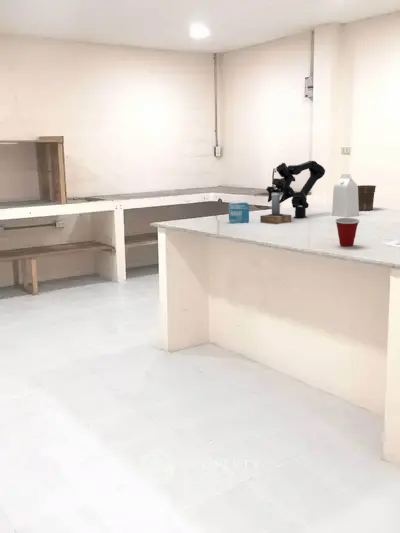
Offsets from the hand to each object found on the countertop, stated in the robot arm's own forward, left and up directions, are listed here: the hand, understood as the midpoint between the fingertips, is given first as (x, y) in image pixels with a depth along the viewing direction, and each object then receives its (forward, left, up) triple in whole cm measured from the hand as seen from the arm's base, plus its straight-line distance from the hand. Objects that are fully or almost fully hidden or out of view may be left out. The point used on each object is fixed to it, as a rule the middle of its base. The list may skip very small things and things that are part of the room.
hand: (274, 202), depth 340 cm
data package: (+13, -17, -12) cm, 25 cm away
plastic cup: (+36, +80, -12) cm, 89 cm away
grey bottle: (-1, 0, -8) cm, 8 cm away
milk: (-48, +16, -12) cm, 52 cm away
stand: (-1, 0, -12) cm, 12 cm away
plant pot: (-78, +8, -12) cm, 79 cm away
